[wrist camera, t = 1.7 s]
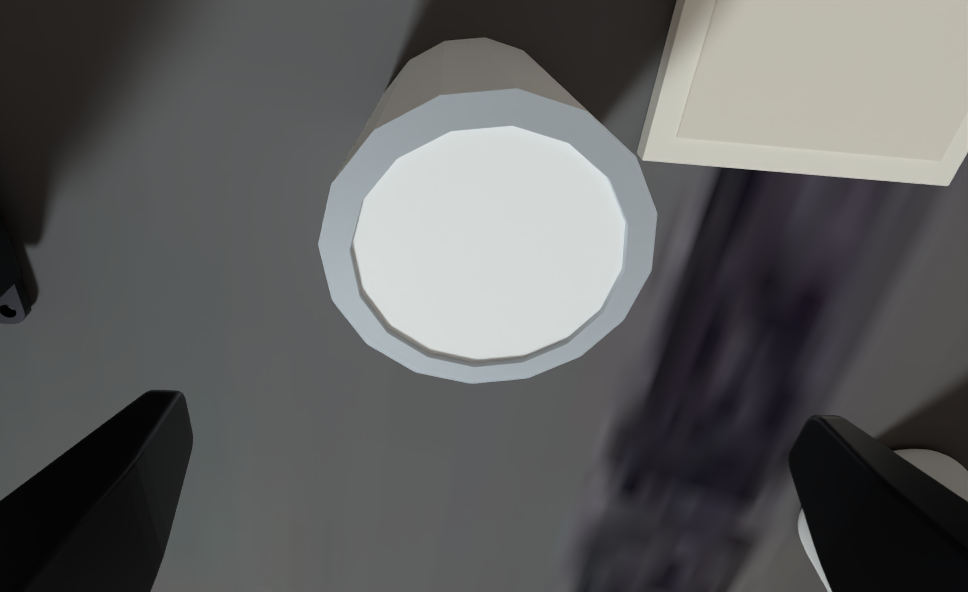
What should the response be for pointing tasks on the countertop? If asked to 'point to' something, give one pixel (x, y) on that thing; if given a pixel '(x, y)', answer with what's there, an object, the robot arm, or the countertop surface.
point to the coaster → (814, 88)
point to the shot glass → (485, 220)
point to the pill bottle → (925, 460)
